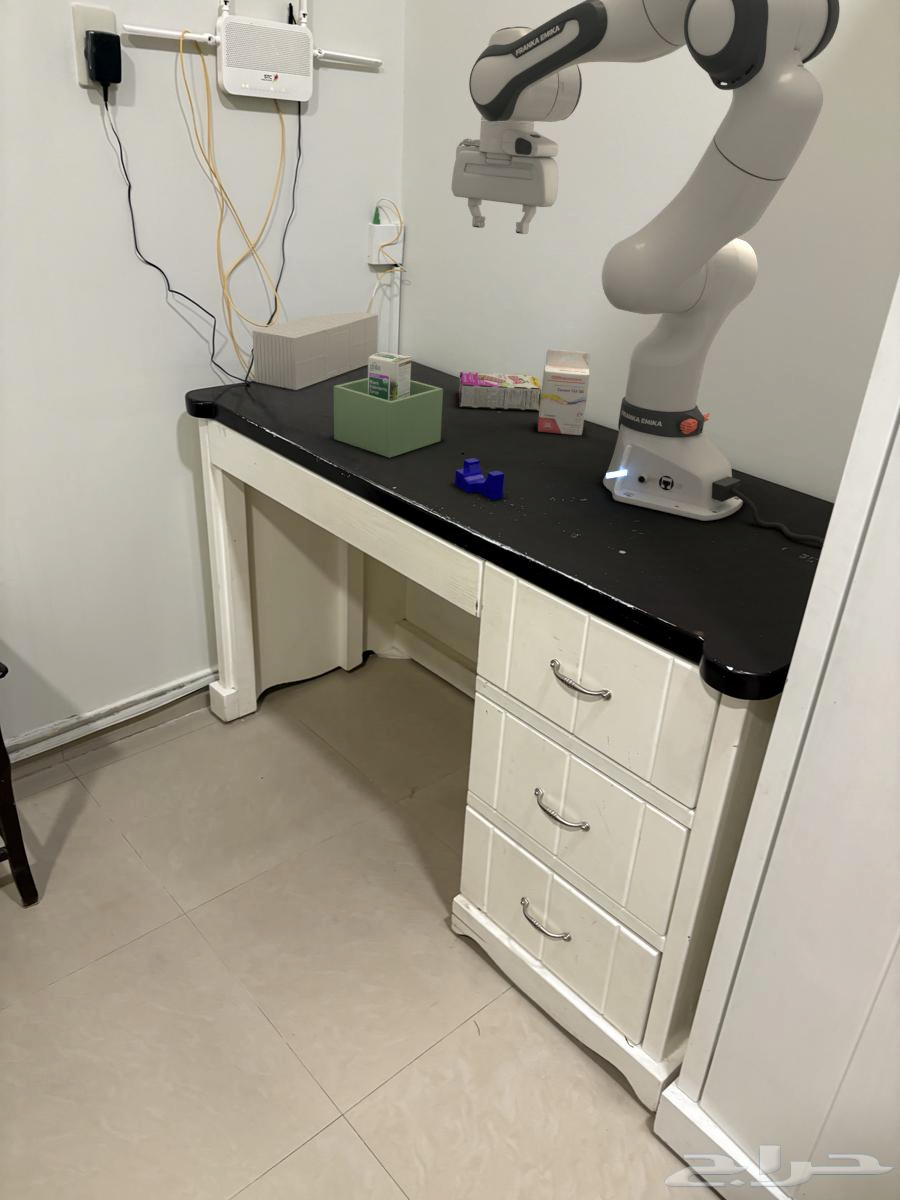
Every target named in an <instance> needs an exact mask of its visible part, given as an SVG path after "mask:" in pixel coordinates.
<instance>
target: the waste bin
mask: <svg viewBox="0 0 900 1200" xmlns="http://www.w3.org/2000/svg"><path fill="white" fill-rule="evenodd" d="M443 396H444V388H441V387H439V386H434V385H432V384H431V385H430V384H427V383H423V382H420V381H416V380H412V379H410V396H408V397H404V398H401V399H397V400H393V401H388V400H385V399H382V398H378V397H375V396H371V395H368V377H366V378H362V379H357V380H354V381H350V382H345V383H341V384H336V385H333V439H334V440H336V441H339V442H342V443H345V444H348V445H351V446H353V447H357V448H359V449H362V450H366V451H369V452H372V453H374V454H377V455H380V456H382V457H386V458H389V459H390V458H393V457H396V456H399V455H403V454H405V453H408V452H411V451H414V450H417V449H420V448H424V447H427V446H430V445H433V444H435V443H439V442H441V441H442V438H441V437H442V420H443V419H442V418H443V399H444V397H443Z"/></svg>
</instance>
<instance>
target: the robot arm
mask: <svg viewBox="0 0 900 1200" xmlns="http://www.w3.org/2000/svg"><path fill="white" fill-rule="evenodd" d="M839 20H840V0H583V1H581V2H580V3H578V4H576V5H574V6H572V7H570V8H567V9H566V10H564V11H562V12H561V13H559V14H557V15H555V16H554V17H552V18H550V19H549V20H547V21H545V22H544V23H542V24H541V25H539V26H537V27H536V28H535V29H534V28H531V27H528V26H511V27H510V26H508V27H507V26H506V27H504V28H503V27H502V28H500V29H498V30H497V31H495V32H494V33H492V34H491V35H490V38H489V41H488V44H487V47H486V48H485V49H484V50H483V51H482V52H481V54H480V55H479V56H478V58H477V59H476V60H475V62H474V64H473V66H472V67H471V71H470V74H469V80H468V81H469V82H468V83H469V84H468V88H469V93H470V98H471V101H472V102H473V105H474V106H475V108H476V109H477V111H478V113H479V114H480V115H481V118H480V130H479V139H471V138H465V139H463V140H462V141H460V142H459V144H458V145H457V146H456V149H455V161H454V165H453V171H452V178H451V189H450V190H451V192H452V194H453V196H454V197H455V198H463V199H464V198H465V199H467V207H468V209H469V212H470V214H471V217H472V222H471V223H472V228H476V229H477V228H478V229H483V228H485V225H486V223H485V222H486V216H483V215H482V211H481V209H480V206H482V202H483V201H487V202H488V201H489V202H497V203H504V204H513V205H521V206H522V209H521V210H522V211H521V212H522V213H524V214H523V216H522V218H521V220H520V221H516V222H515V233H516V234H519V235H527V234H528V233H529V230H530V229H529V227H530V223H531V222H532V220H533V218H534V217H535V216H536V214H537V208H550V207H552V206H553V205H554V204H555V202H556V201H557V199H558V189H559V166H558V163H557V161H556V159H554V158H555V157H557V156H558V153H559V144H558V143H557V142H555V141H554V140H552V139H550V138H548V137H546V136H544V135H543V134H540V133H539V132H537V131H535V130H534V129H535V122H542V123H556V122H561V121H565V120H567V119H568V118H569V117H570V116H571V115H572V114H573V113H574V112H575V110H576V109H577V107H578V105H579V102H580V99H581V95H582V88H583V78H582V74H581V73H582V72H581V70H580V67H579V65H580V64H587V63H629V64H630V63H631V64H632V63H633V64H635V63H636V64H638V63H647V62H651V61H654V60H657V59H660V58H663V57H666V56H668V55H670V54H672V53H675V52H676V51H678V50H679V49H682V48H683V47H684V46H686V47H687V50H688V52H689V54H690V56H691V57H692V59H693V60H694V61H695V63H696V64H697V65H698V66H699V67H700V68H701V69H702V70H703V71H705V72H706V73H707V74H708V76H709V78H710V80H711V82H712V84H713V85H714V86H715V87H716V88H717V89H719V90H722V91H732V99H731V102H730V105H729V108H728V110H727V112H726V114H725V116H724V117H723V119H722V121H721V122H720V124H719V126H718V128H717V129H716V131H715V133H714V135H713V136H712V139H711V140H710V142H709V144H708V146H707V147H706V149H705V151H704V153H703V154H702V156H701V158H700V160H699V161H698V163H697V165H696V166H695V168H694V170H693V171H692V173H691V175H690V177H688V180H687V181H686V182H685V184H684V186H683V187H682V188H681V189H680V191H679V192H678V193H677V194H676V195H675V197H674V198H673V199H672V200H670V202H669V203H668V204H666V206H665V207H664V208H663V209H661V211H659V213H658V214H657V215H655V216H654V217H653V218H652V219H651V220H649V222H648V223H647V224H645V225H644V226H643V227H642V228H640V229H639V230H637V231H636V232H635V233H633V234H631V235H630V236H627V237H626V238H624V239H622V240H620V241H618V242H617V243H615V244H614V245H613V246H612V247H611V248H610V250H609V251H608V253H607V254H606V257H604V258H605V259H604V262H603V265H602V267H601V268H602V269H601V286H602V289H603V293H604V295H605V297H606V299H607V301H608V302H609V304H610V305H611V306H612V307H613V308H615V309H617V310H621V311H625V312H629V313H633V314H640V315H660V316H659V319H658V321H657V322H656V324H655V325H654V327H653V329H652V330H651V331H650V332H649V333H648V334H647V335H645V336H644V337H643V338H642V339H640V340H639V341H638V342H637V343H636V344H635V345H634V347H633V349H632V351H631V355H630V359H629V365H628V372H627V373H628V374H627V381H626V388H625V394H624V397H623V398H621V403H620V404H621V405H620V409H619V415H618V424H617V425H618V426H617V427H618V435H617V438H616V443H615V447H614V450H613V454H612V456H611V460H610V463H609V466H608V468H607V470H606V472H605V475H604V477H603V478H602V479H603V480H602V483H603V485H604V487H605V488H606V489H607V490H608V491H609V492H611V494H612V495H611V496H612V499H613V500H614V501H617V502H619V503H624V504H629V505H633V506H638V507H643V508H646V509H650V510H655V511H659V512H663V513H668V514H673V515H676V516H681V517H684V518H689V519H694V520H699V521H704V522H706V521H714V520H720V519H724V518H726V517H729V516H731V515H733V514H734V513H736V512H737V511H739V510H740V509H741V508H742V506H743V504H744V503H745V504H746V505H747V507H748V508H749V509H750V511H751V514H752V519H753V521H754V523H755V524H756V525H758V526H759V527H762V528H768V529H770V528H771V529H778V530H781V531H782V533H783V534H784V535H785V536H786V538H788V539H791V540H795V541H803V542H814V543H817V544H820V545H821V546H823V540H825V538H822V537H820V536H816V535H811V534H810V535H809V534H798V533H794V532H792V531H790V529H789V528H788V527H787V526H786V525H785V524H783V523H781V522H777V521H776V522H775V521H774V522H773V521H764V520H762V519H761V518H760V516H759V513H758V508H757V506H756V504H755V503H754V502H753V501H752V500H751V499H750V498H749V497H747V496H746V494H743V493H742V492H740V486H741V482H742V480H741V479H739V478H735V477H733V471H732V465H731V462H730V461H729V459H728V458H727V457H725V456H724V454H723V453H722V452H721V451H720V450H719V449H718V448H717V447H716V445H714V443H713V442H712V441H711V440H710V439H709V437H708V436H707V435H706V434H705V432H704V431H703V430H704V427H705V426H704V425H705V423H706V422H708V421H709V420H710V419H709V417H710V415H711V413H710V412H708V413H705V414H703V413H702V412H701V410H700V409H699V407H698V405H697V402H698V396H699V390H700V386H701V382H702V376H703V371H704V367H705V363H706V360H707V357H708V354H709V351H710V349H711V346H712V344H713V343H714V340H715V338H716V336H717V334H718V333H719V331H720V329H721V327H722V326H723V324H724V322H725V321H726V319H727V318H728V316H729V315H730V314H731V313H732V311H734V309H736V308H737V306H739V305H740V304H741V303H742V302H743V301H744V300H746V299H747V298H748V297H749V295H750V294H751V293H752V292H753V290H754V287H755V285H756V282H757V278H758V273H759V272H758V271H759V264H758V259H757V255H756V252H755V250H754V248H753V247H752V246H751V245H750V243H749V242H747V241H745V240H743V239H740V237H742V236H744V235H745V234H746V233H748V232H749V231H751V230H752V229H753V228H754V227H755V226H756V225H757V224H758V223H759V221H760V220H761V218H762V217H763V216H764V214H765V212H766V211H767V209H768V207H769V206H770V204H771V203H772V201H773V200H774V198H775V197H776V195H777V193H778V192H779V191H780V188H781V187H782V186H783V184H784V182H785V180H786V179H787V178H788V176H789V175H790V173H791V172H792V170H793V169H794V166H795V165H796V163H797V161H798V160H799V158H800V156H801V155H802V152H803V151H804V149H805V147H806V145H807V143H808V141H809V139H810V136H811V135H812V133H813V130H814V128H815V126H816V123H817V121H818V118H819V116H820V114H821V111H822V108H823V105H824V104H823V103H824V93H823V88H822V86H821V83H820V82H819V81H818V79H817V77H816V76H815V75H814V74H813V73H812V72H811V71H810V70H809V69H807V68H806V67H805V65H804V64H806V63H809V62H810V61H812V60H813V59H815V58H816V57H818V56H819V55H821V53H823V52H824V50H825V49H826V48H827V47H828V45H829V44H830V42H831V41H832V39H833V37H834V36H835V34H836V31H837V28H838V24H839ZM722 83H723V84H722Z"/></svg>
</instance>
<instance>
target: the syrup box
mask: <svg viewBox="0 0 900 1200" xmlns="http://www.w3.org/2000/svg"><path fill="white" fill-rule="evenodd" d="M411 373H412V356H409V355H408V356H407V355H401V354H396V353H391V352H388V351H387V352H386V351H381V352H377V353H376V354H374V355H372V356H370V357H369V358H368V365H367V378H368V395H371V396H375V397H378V398H382V399H385V400H388V401H393V400H397V399H401V398H404V397H408V396H410V380H411V378H412V377H411V375H412V374H411Z"/></svg>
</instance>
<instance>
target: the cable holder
mask: <svg viewBox="0 0 900 1200" xmlns="http://www.w3.org/2000/svg"><path fill="white" fill-rule="evenodd" d="M480 464H481V463H480V460H479V459H477V458H475V457H473V458H466V459H463V468H460V469H455V477H454V486H456V487H457V488H459V489H461V490H463V491H464V492H466V493H468V494H471V493H479V494H480V495H482V496H484V497H486V498H488V499H489V500H490V501H494V500H498V499H499V500H500V499H503V496H504V495H503V494H504V493H503V492H504V481H505V480H504V479H505V472H502V471H500V470H494V471H489V472H487V476H486V477H485V476H484V475H483V473H482V469H481V465H480Z"/></svg>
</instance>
